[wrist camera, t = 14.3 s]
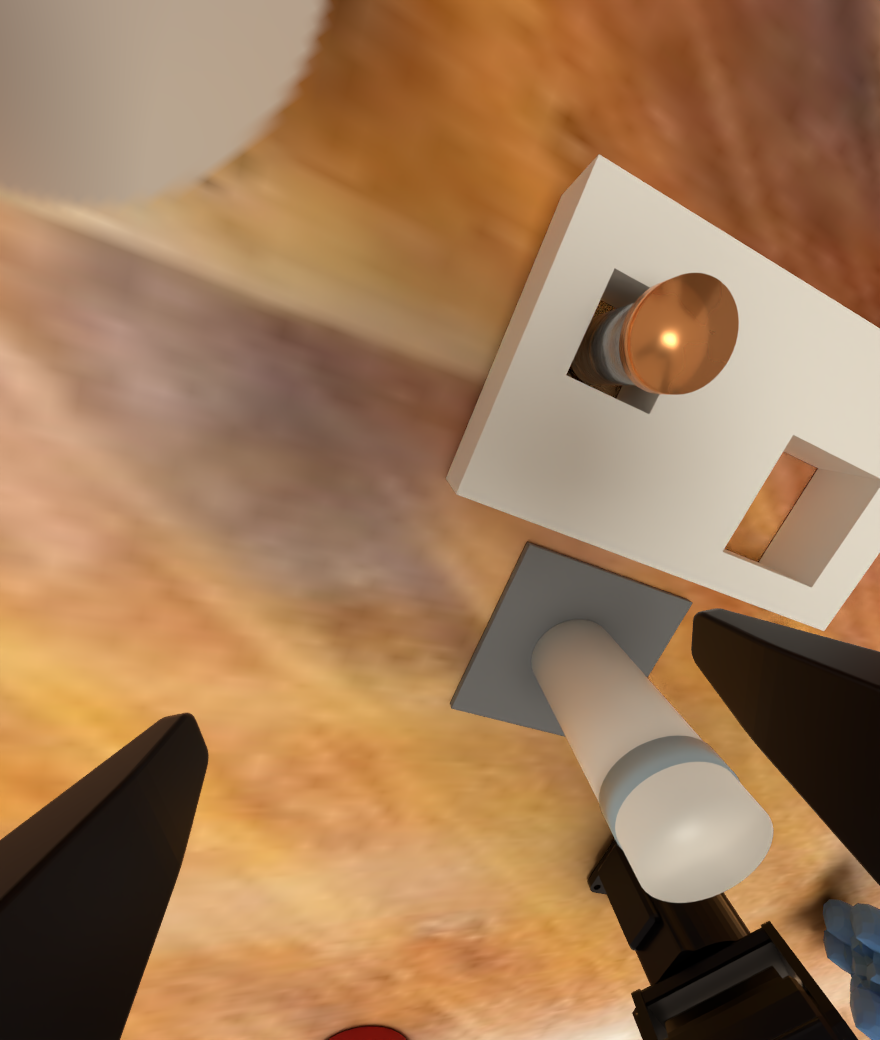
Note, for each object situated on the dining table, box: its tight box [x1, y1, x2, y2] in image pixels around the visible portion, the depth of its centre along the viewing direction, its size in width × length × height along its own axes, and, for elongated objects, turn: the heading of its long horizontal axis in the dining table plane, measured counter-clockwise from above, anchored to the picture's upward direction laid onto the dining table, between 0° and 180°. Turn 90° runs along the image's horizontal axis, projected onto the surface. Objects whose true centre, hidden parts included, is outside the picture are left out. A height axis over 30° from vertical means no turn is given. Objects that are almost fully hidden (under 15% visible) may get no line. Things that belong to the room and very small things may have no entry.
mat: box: [450, 542, 692, 737], centre depth 23 cm, size 10×10×1 cm
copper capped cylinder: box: [571, 273, 739, 395], centre depth 15 cm, size 3×3×5 cm
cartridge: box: [531, 619, 773, 903], centre depth 18 cm, size 5×5×10 cm
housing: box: [446, 155, 880, 631], centre depth 18 cm, size 20×12×3 cm, turn 68°
